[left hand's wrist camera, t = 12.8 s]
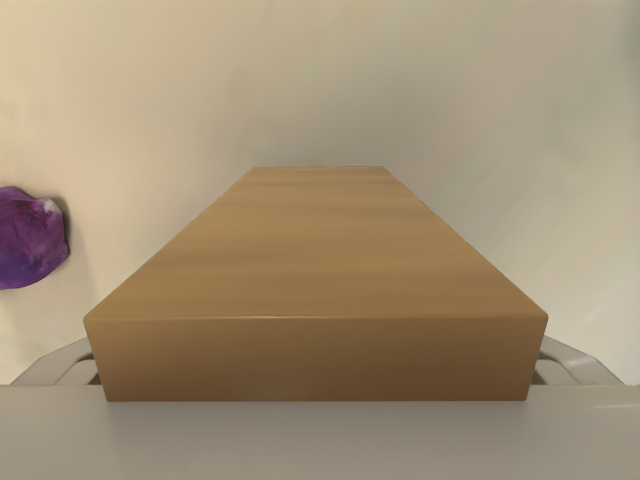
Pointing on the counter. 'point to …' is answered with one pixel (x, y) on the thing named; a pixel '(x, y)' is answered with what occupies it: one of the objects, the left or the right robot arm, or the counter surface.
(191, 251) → the box
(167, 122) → the counter surface
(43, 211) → the figurine
